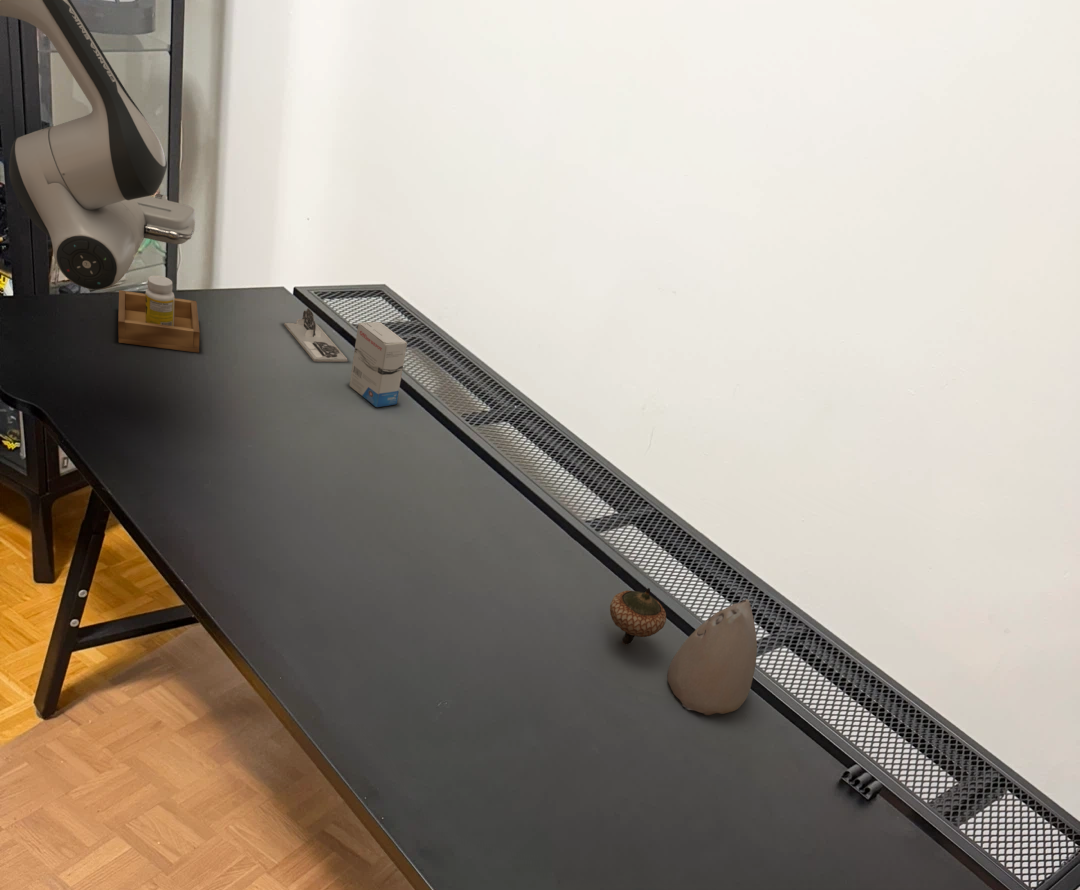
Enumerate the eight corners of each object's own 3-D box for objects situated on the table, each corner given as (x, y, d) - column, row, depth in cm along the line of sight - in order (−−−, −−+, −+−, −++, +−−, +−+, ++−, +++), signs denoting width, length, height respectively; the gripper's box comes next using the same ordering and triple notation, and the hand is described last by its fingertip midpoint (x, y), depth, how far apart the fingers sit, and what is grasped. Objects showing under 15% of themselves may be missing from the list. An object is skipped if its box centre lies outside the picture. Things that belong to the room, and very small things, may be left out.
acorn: (610, 663, 142) (633, 606, 135) (589, 626, 147) (610, 569, 141) (661, 662, 145) (685, 606, 139) (639, 625, 150) (661, 570, 144)
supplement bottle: (150, 319, 181) (150, 271, 175) (177, 326, 181) (178, 279, 176) (141, 329, 177) (141, 281, 172) (169, 336, 178) (170, 288, 172)
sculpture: (662, 652, 147) (698, 567, 137) (738, 670, 149) (780, 587, 139) (668, 710, 137) (708, 623, 127) (750, 728, 139) (795, 643, 129)
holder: (118, 342, 173) (118, 321, 171) (119, 311, 182) (119, 289, 179) (198, 352, 178) (199, 331, 176) (195, 321, 187) (196, 301, 184)
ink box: (398, 405, 183) (409, 342, 175) (375, 408, 180) (386, 344, 172) (370, 382, 187) (380, 320, 179) (347, 385, 183) (356, 321, 176)
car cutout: (284, 325, 195) (286, 301, 192) (316, 325, 199) (319, 303, 196) (314, 361, 187) (316, 337, 184) (347, 361, 191) (350, 338, 188)
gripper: (190, 216, 139) (202, 186, 149) (28, 180, 134) (52, 151, 144) (189, 263, 143) (201, 231, 153) (31, 230, 138) (54, 198, 148)
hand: (127, 192), depth 149 cm, fingers open, 8 cm apart
